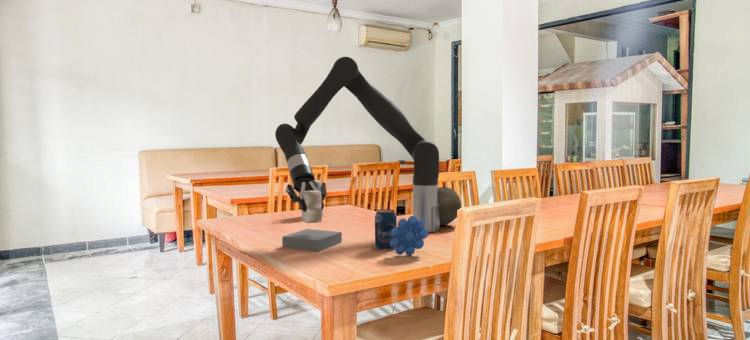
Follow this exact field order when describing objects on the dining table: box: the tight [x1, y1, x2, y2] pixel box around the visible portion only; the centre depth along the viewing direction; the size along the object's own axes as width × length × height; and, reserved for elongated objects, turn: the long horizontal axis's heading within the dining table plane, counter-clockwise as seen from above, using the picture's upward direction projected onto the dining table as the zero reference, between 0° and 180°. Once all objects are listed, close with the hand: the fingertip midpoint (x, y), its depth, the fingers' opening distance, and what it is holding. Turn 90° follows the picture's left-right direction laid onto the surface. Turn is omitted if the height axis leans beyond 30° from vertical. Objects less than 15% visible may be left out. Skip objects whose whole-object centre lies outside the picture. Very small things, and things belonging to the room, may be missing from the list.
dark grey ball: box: [438, 186, 462, 227], centre depth 199 cm, size 14×14×15 cm
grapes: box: [390, 215, 429, 256], centre depth 154 cm, size 12×7×12 cm, turn 95°
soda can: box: [374, 208, 398, 251], centre depth 163 cm, size 7×7×12 cm
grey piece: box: [301, 190, 323, 224], centre depth 168 cm, size 5×5×10 cm
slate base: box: [281, 228, 343, 252], centre depth 169 cm, size 14×14×4 cm
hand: (313, 209), depth 167 cm, fingers closed on grey piece, 5 cm apart
